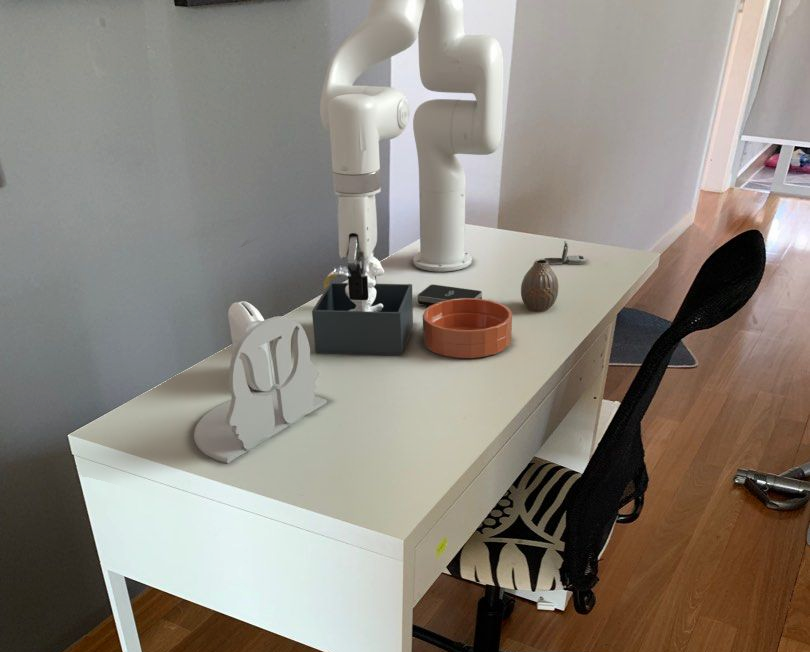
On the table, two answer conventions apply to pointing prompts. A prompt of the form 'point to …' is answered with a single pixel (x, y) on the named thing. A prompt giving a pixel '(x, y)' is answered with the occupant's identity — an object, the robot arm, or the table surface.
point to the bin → (363, 321)
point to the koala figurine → (369, 285)
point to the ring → (335, 273)
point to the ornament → (264, 412)
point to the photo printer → (240, 323)
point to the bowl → (467, 327)
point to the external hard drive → (445, 294)
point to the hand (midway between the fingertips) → (363, 290)
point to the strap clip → (570, 259)
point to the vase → (539, 287)
